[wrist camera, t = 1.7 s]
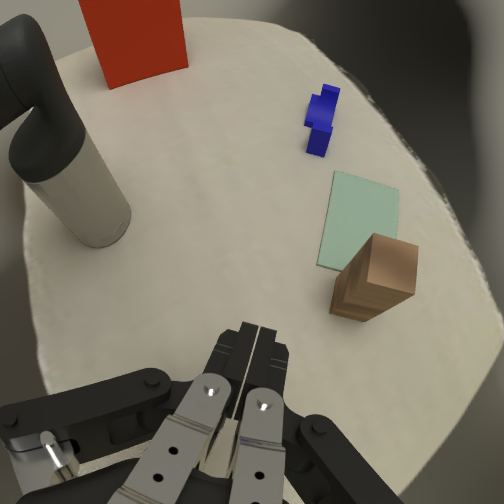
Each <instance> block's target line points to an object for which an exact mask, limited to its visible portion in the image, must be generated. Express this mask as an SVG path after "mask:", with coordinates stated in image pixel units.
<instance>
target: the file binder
mask: <svg viewBox="0 0 504 504" xmlns="http://www.w3.org/2000/svg"><path fill="white" fill-rule="evenodd" d="M78 1H79V4H80V7H81V10H82V13H83V16H84V19H85V22H86V25H87V28H88V31H89V34H90V37H91V40H92V42H93V45H94V48H95V51H96V54H97V57H98V59H99V62H100V65H101V68H102V70H103V73H104V76H105V78H106V81H107V84H108V86H109V89H113V88H116V87H119V86H122V85H125V84H129V83H132V82H135V81H138V80H141V79H145V78H148V77H152V76H155V75H159V74H163V73H166V72H170V71H174V70H178V69H182V68H187V67H188V60H187V53H186V46H185V38H184V31H183V24H182V16H181V9H180V1H179V0H78Z"/></svg>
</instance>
